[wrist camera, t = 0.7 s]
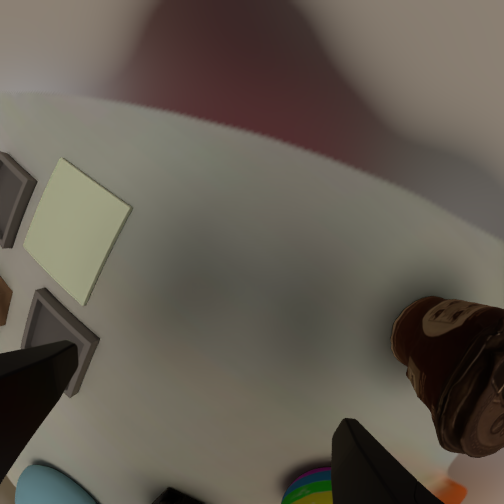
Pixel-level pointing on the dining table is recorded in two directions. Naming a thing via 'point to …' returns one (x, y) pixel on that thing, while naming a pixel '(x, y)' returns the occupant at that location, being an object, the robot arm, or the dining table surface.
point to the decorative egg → (310, 488)
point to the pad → (75, 229)
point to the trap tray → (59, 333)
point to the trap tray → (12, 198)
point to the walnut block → (4, 301)
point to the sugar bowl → (48, 488)
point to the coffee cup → (456, 369)
